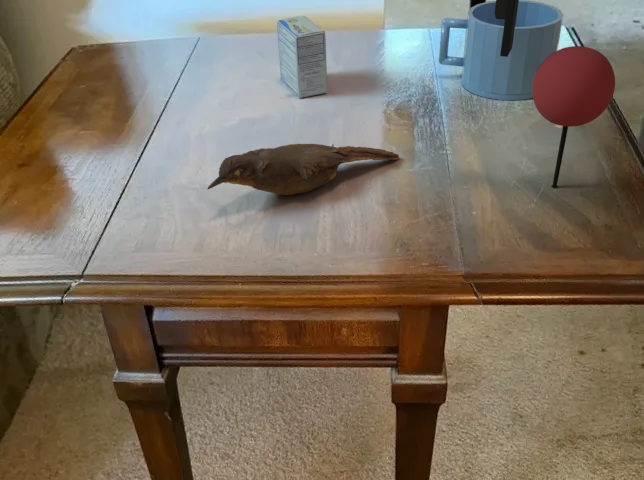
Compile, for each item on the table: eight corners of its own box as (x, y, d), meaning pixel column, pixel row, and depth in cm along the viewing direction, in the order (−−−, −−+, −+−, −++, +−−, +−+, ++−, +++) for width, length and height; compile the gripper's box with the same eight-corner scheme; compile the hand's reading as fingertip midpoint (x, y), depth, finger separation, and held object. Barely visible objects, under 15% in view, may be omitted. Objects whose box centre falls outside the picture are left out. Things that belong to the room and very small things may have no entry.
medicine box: (328, 93, 107) (326, 30, 101) (298, 99, 105) (295, 35, 100) (308, 75, 112) (306, 14, 107) (279, 80, 111) (276, 19, 106)
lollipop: (605, 194, 82) (639, 55, 73) (543, 209, 80) (569, 67, 71) (563, 164, 88) (589, 31, 78) (505, 177, 86) (524, 42, 76)
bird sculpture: (408, 184, 90) (415, 144, 87) (220, 218, 78) (221, 172, 75) (375, 165, 95) (380, 126, 92) (191, 195, 82) (191, 150, 80)
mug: (556, 71, 110) (568, 3, 104) (544, 104, 101) (556, 31, 95) (447, 61, 114) (452, -5, 109) (427, 92, 106) (431, 21, 100)
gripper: (795, -207, 61) (713, 58, 74) (481, -206, 68) (458, 35, 82) (806, -198, 55) (716, 87, 69) (464, -197, 63) (442, 59, 76)
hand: (575, 59), depth 75 cm, fingers open, 13 cm apart
